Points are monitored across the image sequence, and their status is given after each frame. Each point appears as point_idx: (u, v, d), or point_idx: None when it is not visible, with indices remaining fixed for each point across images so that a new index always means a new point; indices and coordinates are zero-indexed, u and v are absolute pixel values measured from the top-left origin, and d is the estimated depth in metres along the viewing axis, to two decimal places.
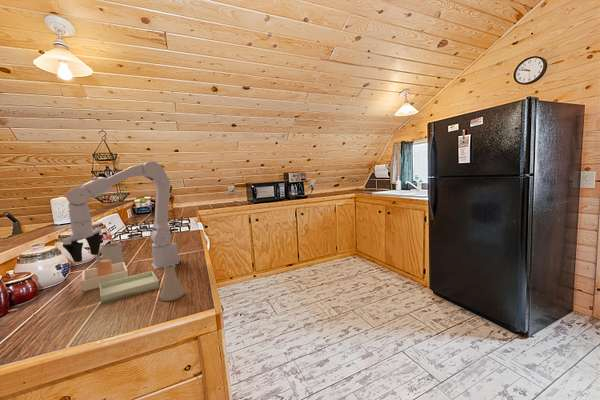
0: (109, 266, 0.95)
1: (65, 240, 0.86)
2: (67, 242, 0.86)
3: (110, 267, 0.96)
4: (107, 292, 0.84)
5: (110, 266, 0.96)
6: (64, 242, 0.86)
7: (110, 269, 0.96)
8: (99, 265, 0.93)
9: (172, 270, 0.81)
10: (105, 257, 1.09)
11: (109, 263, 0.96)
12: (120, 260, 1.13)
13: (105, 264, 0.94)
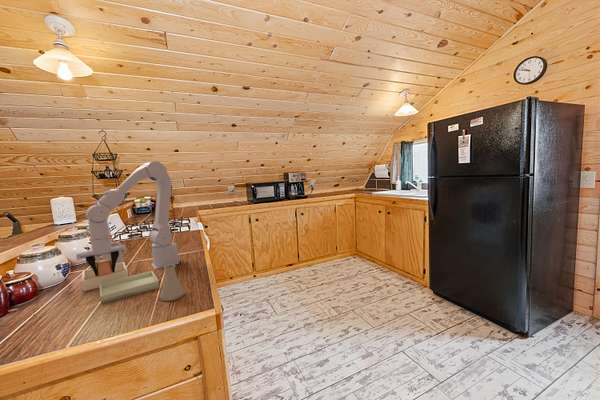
0: (109, 266, 0.95)
1: (76, 255, 0.91)
2: None
3: (110, 267, 0.96)
4: (107, 292, 0.84)
5: (110, 266, 0.96)
6: None
7: (110, 269, 0.96)
8: (99, 265, 0.93)
9: (172, 270, 0.81)
10: (105, 257, 1.09)
11: (109, 263, 0.96)
12: (120, 260, 1.13)
13: (105, 264, 0.94)
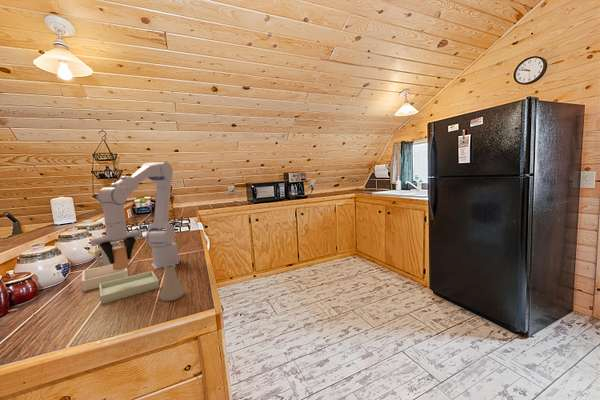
0: (125, 253, 0.89)
1: (90, 241, 0.83)
2: (91, 244, 0.82)
3: (126, 253, 0.90)
4: (107, 292, 0.84)
5: (126, 252, 0.90)
6: (90, 243, 0.83)
7: (126, 256, 0.90)
8: (116, 251, 0.87)
9: (172, 270, 0.81)
10: (105, 257, 1.09)
11: (125, 249, 0.89)
12: None
13: (122, 250, 0.88)
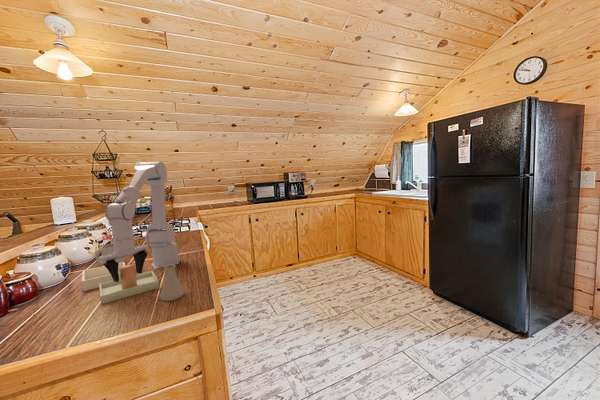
0: (134, 271, 0.88)
1: (100, 259, 0.81)
2: (101, 261, 0.81)
3: (135, 272, 0.89)
4: (107, 292, 0.84)
5: None
6: (100, 261, 0.81)
7: (135, 274, 0.89)
8: (126, 270, 0.86)
9: (172, 270, 0.81)
10: None
11: (134, 267, 0.88)
12: (120, 260, 1.13)
13: (132, 269, 0.87)
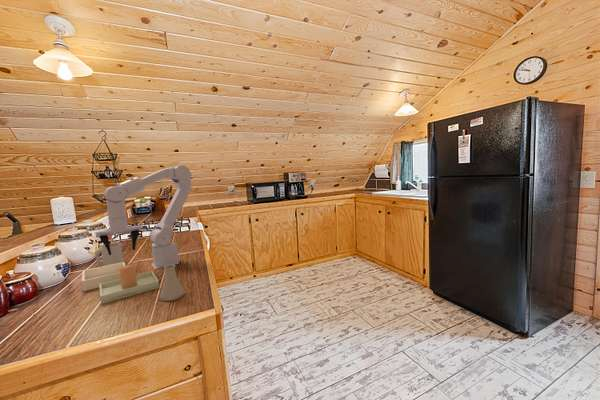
0: (134, 271, 0.88)
1: (95, 233, 0.95)
2: None
3: (135, 272, 0.89)
4: (107, 292, 0.84)
5: None
6: None
7: (135, 274, 0.89)
8: (126, 270, 0.86)
9: (172, 270, 0.81)
10: (105, 257, 1.09)
11: (134, 267, 0.88)
12: (120, 260, 1.13)
13: (132, 269, 0.87)
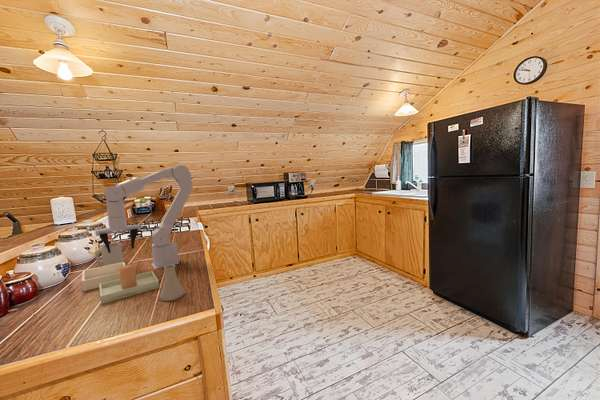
0: (134, 271, 0.88)
1: (95, 232, 0.97)
2: None
3: (135, 272, 0.89)
4: (107, 292, 0.84)
5: None
6: None
7: (135, 274, 0.89)
8: (126, 270, 0.86)
9: (172, 270, 0.81)
10: (105, 257, 1.09)
11: (134, 267, 0.88)
12: (120, 260, 1.13)
13: (132, 269, 0.87)
